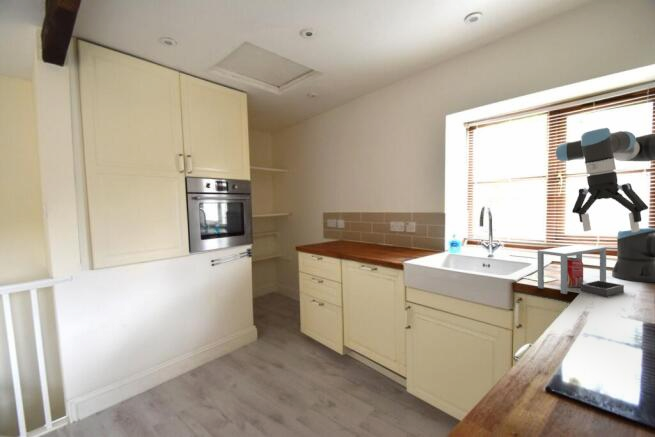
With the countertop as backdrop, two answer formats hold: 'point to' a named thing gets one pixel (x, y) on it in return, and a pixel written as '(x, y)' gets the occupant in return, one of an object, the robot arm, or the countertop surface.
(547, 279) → the mat
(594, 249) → the bridge
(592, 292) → the tray
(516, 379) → the countertop surface
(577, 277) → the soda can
